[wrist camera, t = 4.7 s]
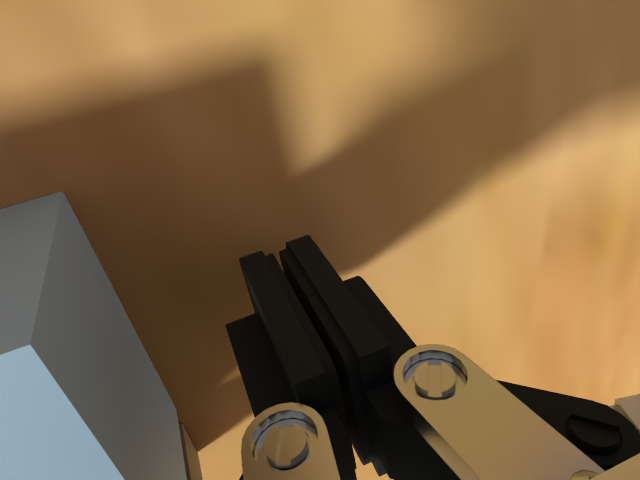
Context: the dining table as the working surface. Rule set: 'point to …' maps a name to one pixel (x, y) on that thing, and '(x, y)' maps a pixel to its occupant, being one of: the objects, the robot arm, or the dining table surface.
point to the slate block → (73, 361)
